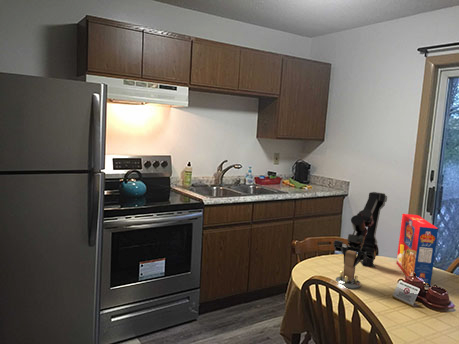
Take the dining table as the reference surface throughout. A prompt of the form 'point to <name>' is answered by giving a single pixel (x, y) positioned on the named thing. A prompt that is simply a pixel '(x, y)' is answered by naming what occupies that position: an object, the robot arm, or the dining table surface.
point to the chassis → (348, 281)
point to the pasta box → (417, 247)
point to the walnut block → (349, 265)
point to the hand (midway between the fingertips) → (349, 265)
